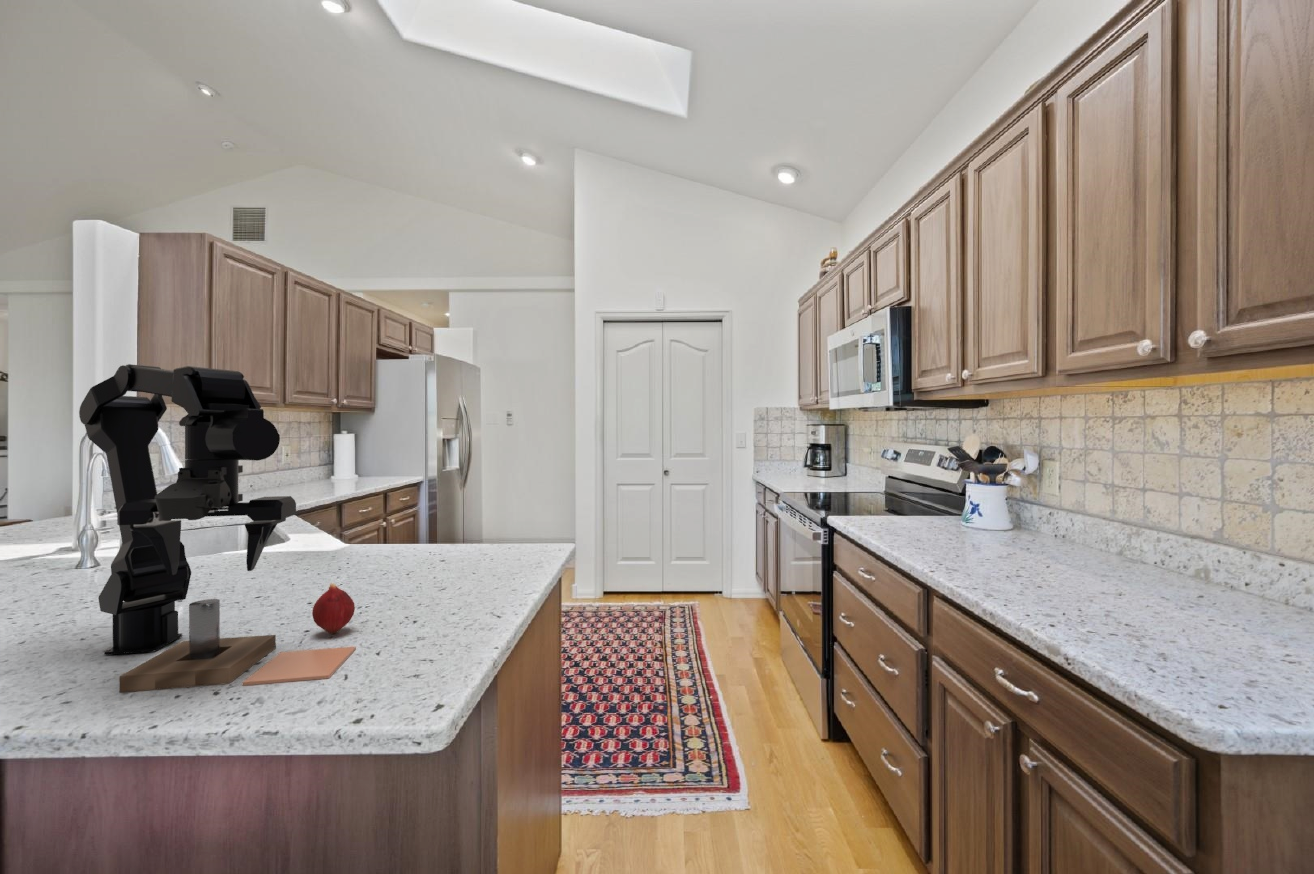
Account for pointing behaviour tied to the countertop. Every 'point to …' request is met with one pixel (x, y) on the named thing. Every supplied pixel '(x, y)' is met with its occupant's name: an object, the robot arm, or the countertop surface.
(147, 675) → the plate
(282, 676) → the tile
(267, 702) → the countertop surface
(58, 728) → the countertop surface
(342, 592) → the onion
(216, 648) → the peg
